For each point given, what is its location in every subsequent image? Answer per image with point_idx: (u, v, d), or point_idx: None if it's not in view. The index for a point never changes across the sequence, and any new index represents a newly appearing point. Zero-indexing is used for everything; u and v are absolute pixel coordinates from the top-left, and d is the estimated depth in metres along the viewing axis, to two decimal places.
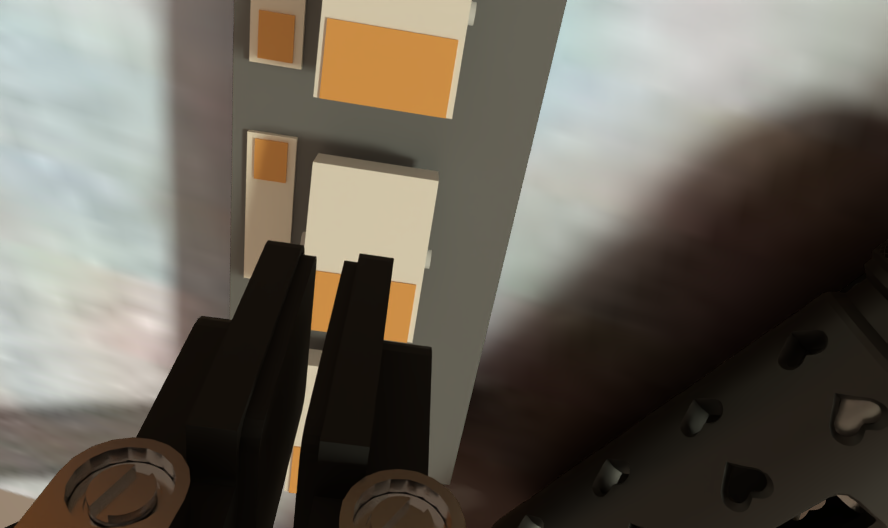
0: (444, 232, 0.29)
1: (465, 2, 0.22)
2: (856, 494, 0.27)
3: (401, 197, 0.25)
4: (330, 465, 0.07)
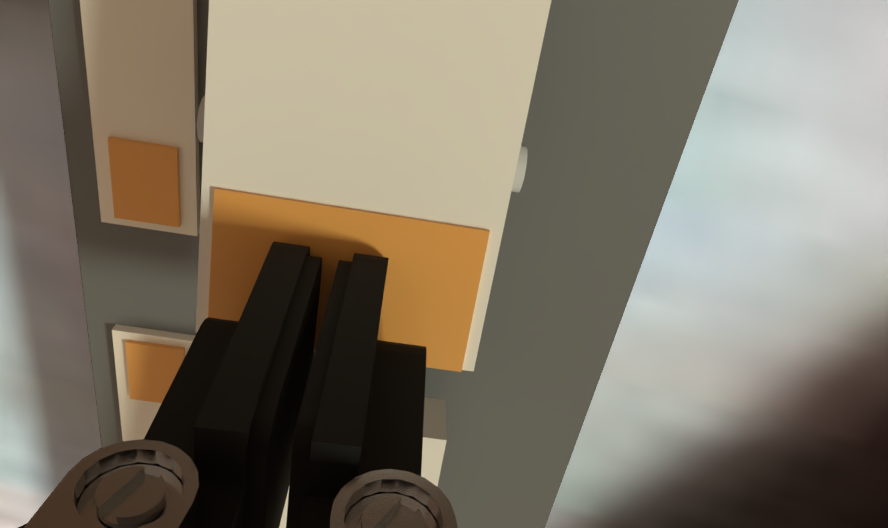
0: (455, 470, 0.17)
1: (506, 157, 0.10)
2: None
3: None
4: (322, 465, 0.07)
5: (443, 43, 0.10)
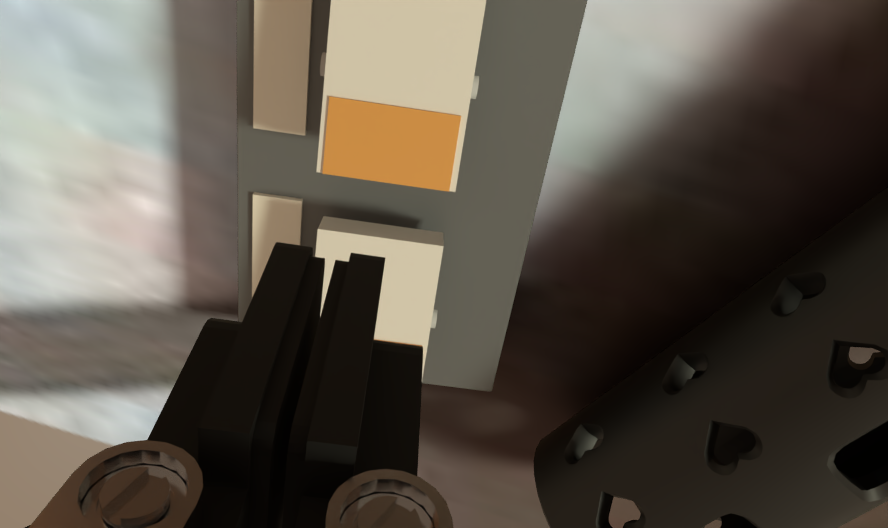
0: (491, 65, 0.24)
1: None
2: None
3: None
4: (318, 465, 0.07)
5: None
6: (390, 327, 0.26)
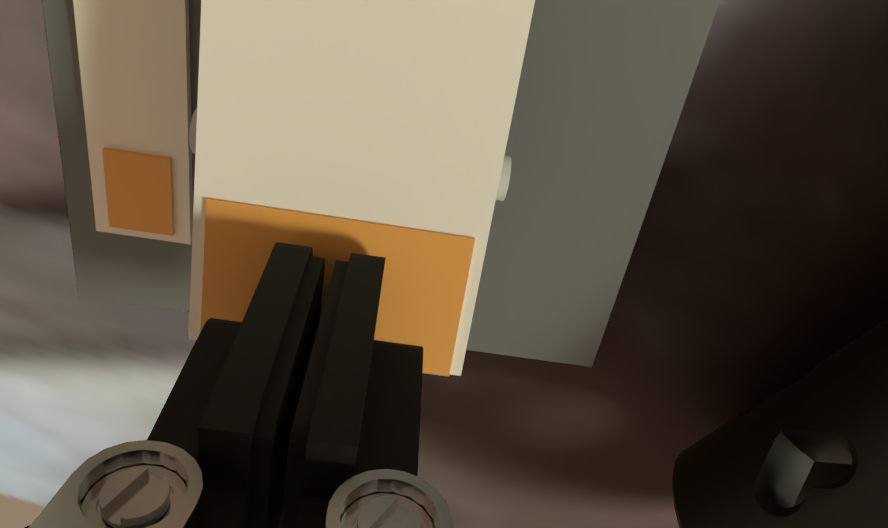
0: None
1: None
2: None
3: None
4: (318, 465, 0.07)
5: None
6: (398, 188, 0.11)
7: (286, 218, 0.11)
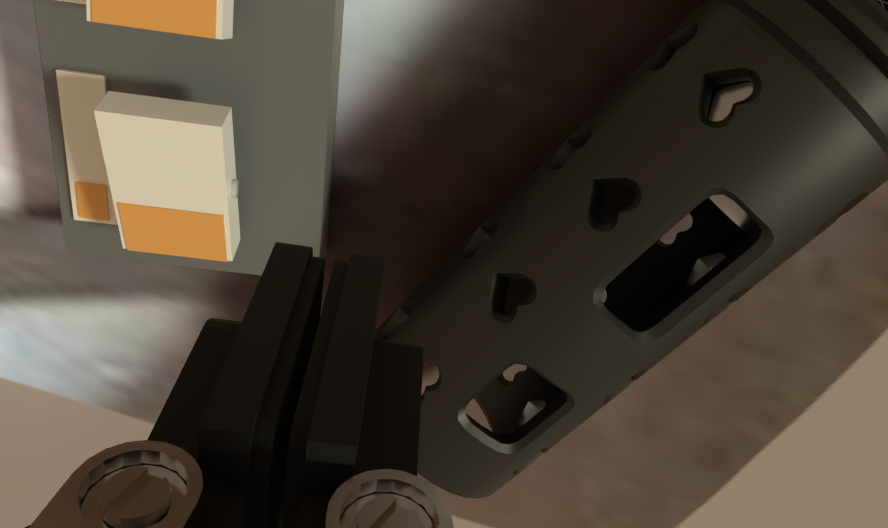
0: None
1: None
2: (731, 187, 0.23)
3: None
4: (318, 465, 0.07)
5: None
6: (189, 199, 0.28)
7: (149, 208, 0.28)
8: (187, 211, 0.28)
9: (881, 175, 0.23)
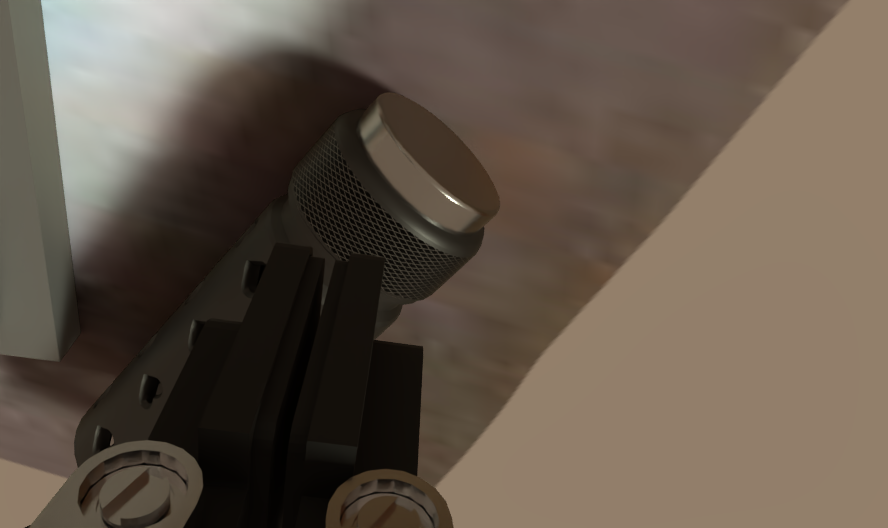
0: None
1: None
2: None
3: None
4: (318, 465, 0.07)
5: None
6: None
7: None
8: None
9: None
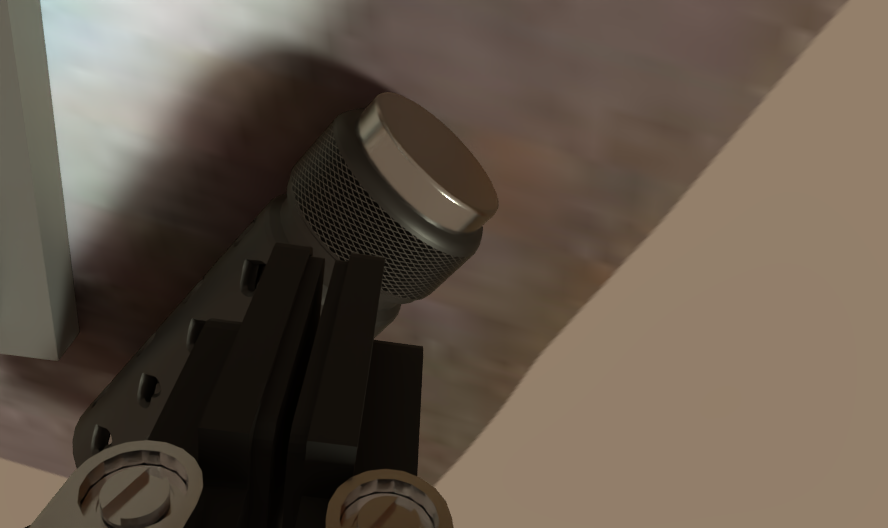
0: None
1: None
2: None
3: None
4: (318, 465, 0.07)
5: None
6: None
7: None
8: None
9: None
